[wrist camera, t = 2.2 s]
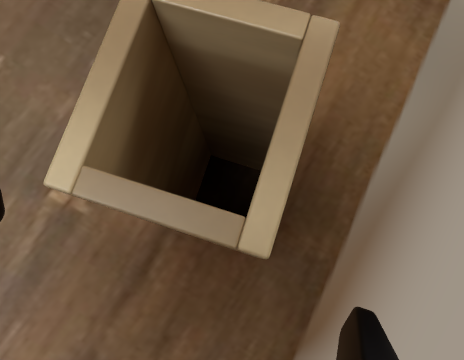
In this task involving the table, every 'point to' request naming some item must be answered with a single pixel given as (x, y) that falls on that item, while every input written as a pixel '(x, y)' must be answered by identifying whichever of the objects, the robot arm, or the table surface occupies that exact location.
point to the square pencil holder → (196, 113)
